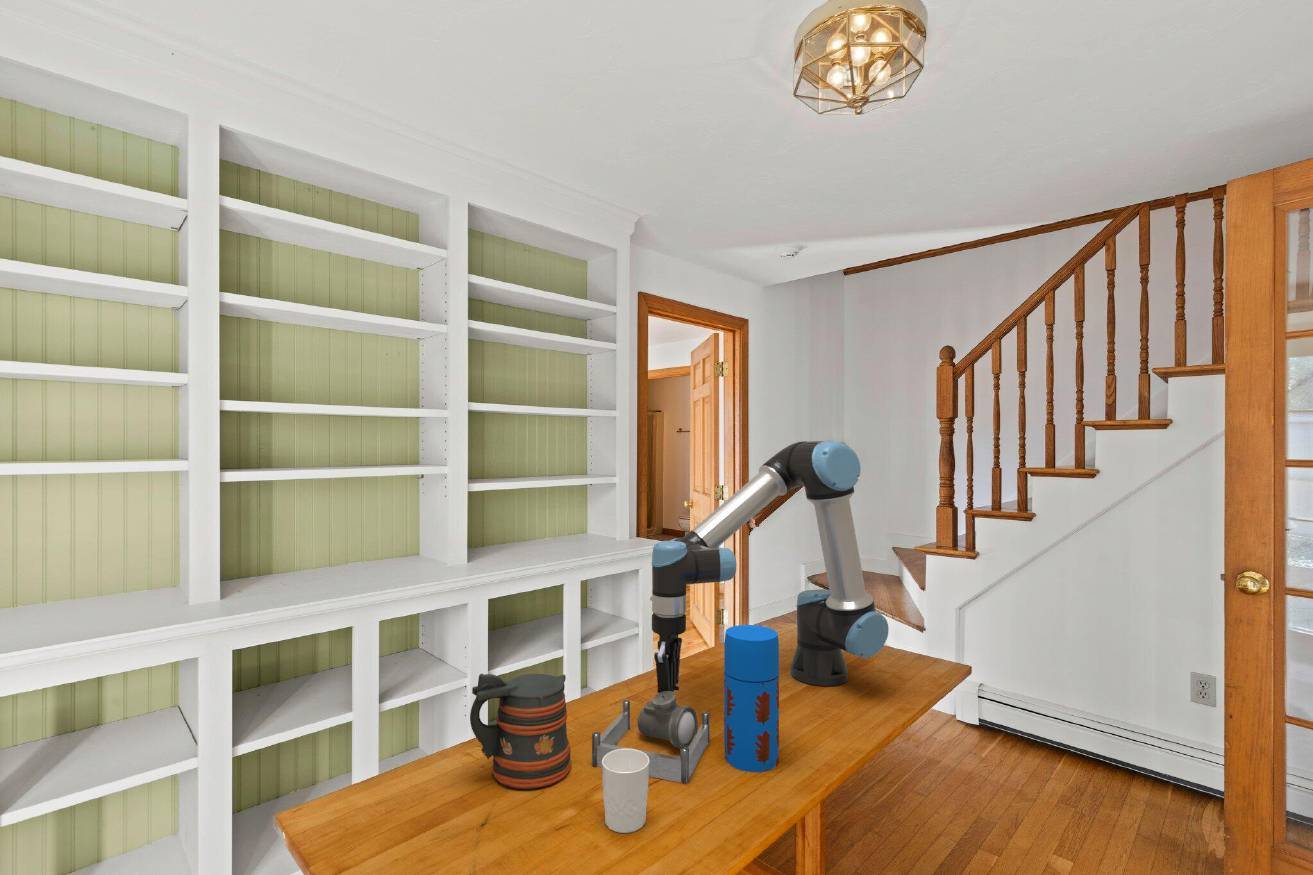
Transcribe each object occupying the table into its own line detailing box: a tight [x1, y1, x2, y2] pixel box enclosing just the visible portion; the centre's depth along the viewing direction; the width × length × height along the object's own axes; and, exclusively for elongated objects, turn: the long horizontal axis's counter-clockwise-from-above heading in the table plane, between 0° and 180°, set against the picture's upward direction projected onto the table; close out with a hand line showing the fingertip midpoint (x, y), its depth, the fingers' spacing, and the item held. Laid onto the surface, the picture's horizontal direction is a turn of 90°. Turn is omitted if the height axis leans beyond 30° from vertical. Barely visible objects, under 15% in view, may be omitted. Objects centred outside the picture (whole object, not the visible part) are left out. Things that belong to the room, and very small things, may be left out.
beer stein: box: [469, 673, 572, 790], centre depth 115 cm, size 19×15×20 cm
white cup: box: [601, 748, 650, 834], centre depth 101 cm, size 8×8×10 cm
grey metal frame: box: [591, 699, 711, 785], centre depth 123 cm, size 18×20×6 cm
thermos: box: [723, 624, 780, 773], centre depth 121 cm, size 11×11×25 cm
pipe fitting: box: [637, 691, 699, 749], centre depth 127 cm, size 12×8×10 cm
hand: (668, 721), depth 132 cm, fingers closed
